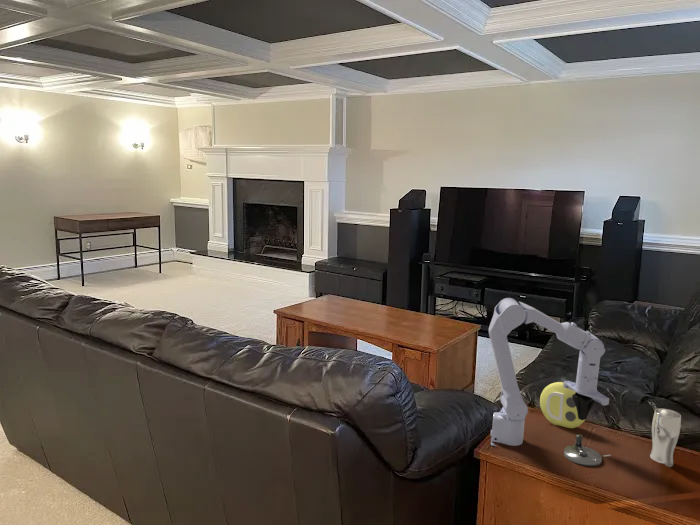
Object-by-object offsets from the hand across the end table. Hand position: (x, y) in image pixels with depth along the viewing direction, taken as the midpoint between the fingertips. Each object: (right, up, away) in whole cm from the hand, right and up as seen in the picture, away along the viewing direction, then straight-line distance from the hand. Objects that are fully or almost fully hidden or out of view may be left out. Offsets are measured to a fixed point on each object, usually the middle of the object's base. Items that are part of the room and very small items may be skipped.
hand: (582, 418), depth 162 cm
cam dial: (-3, -9, -7) cm, 12 cm away
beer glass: (+21, -11, -5) cm, 24 cm away
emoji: (-1, -7, +15) cm, 17 cm away
